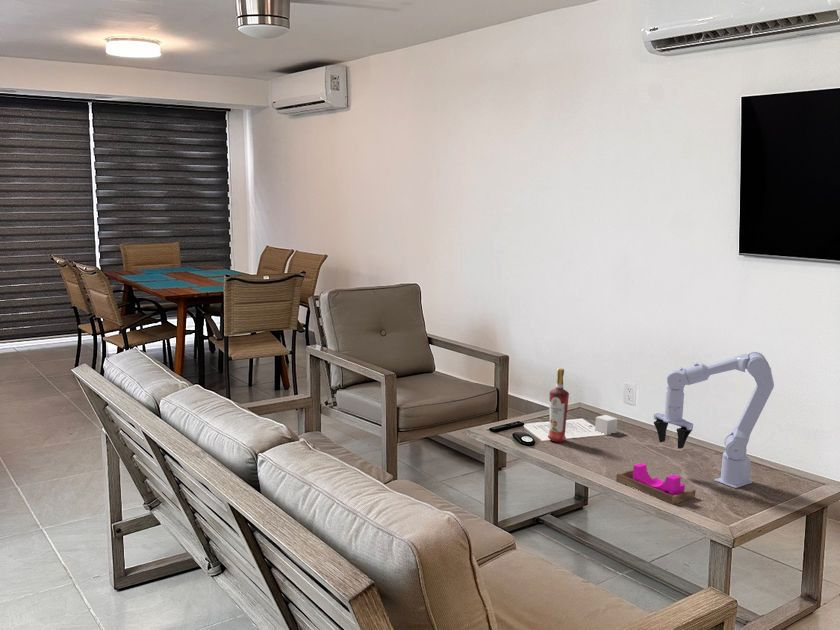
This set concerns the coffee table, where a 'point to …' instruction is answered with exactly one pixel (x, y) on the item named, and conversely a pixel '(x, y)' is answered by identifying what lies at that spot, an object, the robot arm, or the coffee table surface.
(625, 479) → the tray
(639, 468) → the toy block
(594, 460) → the coffee table surface
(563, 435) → the liquor
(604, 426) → the white cube
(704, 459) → the coffee table surface
